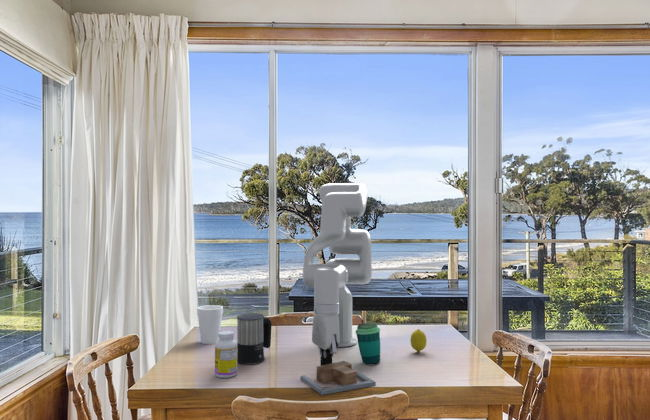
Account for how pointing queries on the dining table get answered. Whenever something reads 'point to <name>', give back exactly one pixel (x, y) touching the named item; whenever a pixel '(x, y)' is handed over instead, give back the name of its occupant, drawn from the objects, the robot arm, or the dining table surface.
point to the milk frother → (252, 337)
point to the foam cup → (209, 322)
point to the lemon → (418, 340)
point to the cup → (369, 343)
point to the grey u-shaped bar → (322, 391)
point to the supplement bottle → (226, 355)
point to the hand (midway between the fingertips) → (326, 369)
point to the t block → (337, 373)
